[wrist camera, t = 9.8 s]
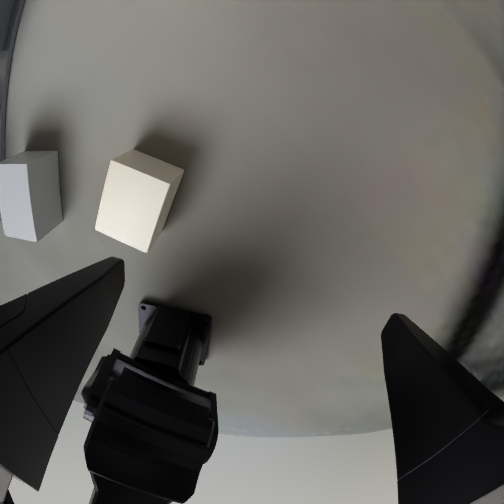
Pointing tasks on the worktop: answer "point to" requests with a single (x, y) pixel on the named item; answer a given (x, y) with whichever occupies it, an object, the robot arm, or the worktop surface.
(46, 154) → the grey block
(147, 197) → the cream rectangular block
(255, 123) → the worktop surface
